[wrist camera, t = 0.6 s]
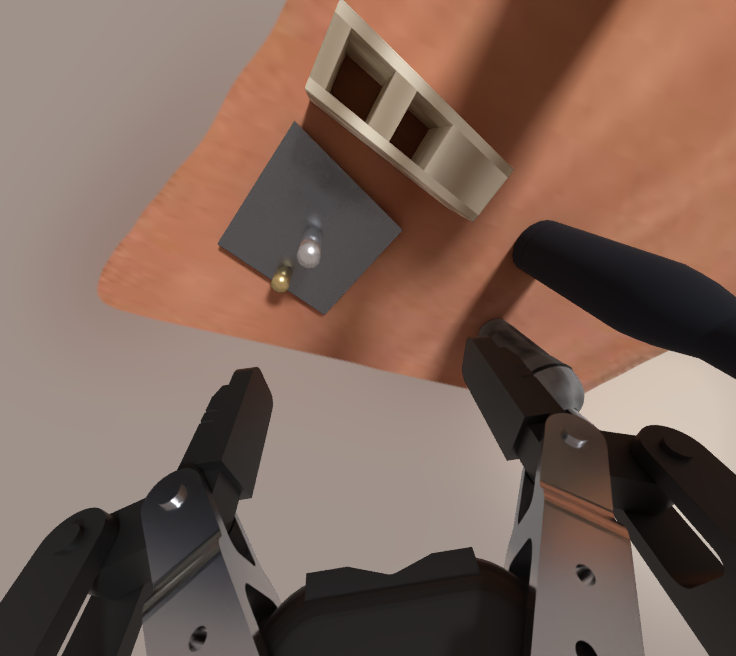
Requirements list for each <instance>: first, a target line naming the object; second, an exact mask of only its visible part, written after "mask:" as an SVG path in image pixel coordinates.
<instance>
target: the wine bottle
mask: <svg viewBox="0 0 736 656" xmlns="http://www.w3.org/2000/svg"><path fill="white" fill-rule="evenodd" d="M513 261H514V263H515V265H516V266H517V267H518V268H519V269H521V270H522V271H524V272H525V273H527V274H529V275H530V276H532V277H533V278H535V279H536V280H538V281H540V282H541V283H543V284H544V285H546V286H547V287H549V288H551V289H552V290H554V291H555V292H557V293H558V294H560V295H561V296H563V297H565V298H566V299H568V300H569V301H571V302H572V303H574V304H576V305H577V306H579V307H580V308H582V309H583V310H585V311H586V312H588V313H590V314H591V315H593V316H594V317H596V318H597V319H599V320H601V321H602V322H604V323H605V324H607V325H608V326H610V327H612V328H613V329H615V330H617V331H618V332H621V333H623V334H625V335H628V336H630V337H632V338H635V339H637V340H640V341H642V342H645V343H648V344H650V345H653V346H656V347H660V348H663V349H667V350H670V351H674V352H678V353H682V354H685V355H689V356H692V357H696V358H699V359H701V360H703V361H705V362H707V363H709V364H710V365H712V366H714V367H715V368H717V369H719V370H721V371H723V372H724V373H726V374H728V375H729V376H731V377H733V378H735V379H736V297H735V296H734V295H732V294H731V293H730V292H729V291H727V290H726V289H725V288H724V287H722V286H721V285H720V284H718V283H717V282H715V281H713V280H712V279H710V278H709V277H707V276H705V275H704V274H702V273H700V272H698V271H696V270H694V269H693V268H691V267H689V266H687V265H685V264H682V263H679V262H676V261H673V260H670V259H667V258H664V257H661V256H658V255H655V254H652V253H649V252H646V251H643V250H640V249H637V248H634V247H631V246H628V245H625V244H622V243H619V242H616V241H613V240H610V239H607V238H604V237H601V236H598V235H595V234H592V233H589V232H586V231H583V230H579V229H576V228H573V227H570V226H567V225H564V224H561V223H558V222H555V221H550V220H545V221H540V222H537V223H535V224H533V225H531V226H530V227H529V228H528V229H526V230H525V231H524V232H523V233H522V234H521V236H520V237H519V238H518V239H517V242H516V244H515V246H514V249H513Z"/></svg>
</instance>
